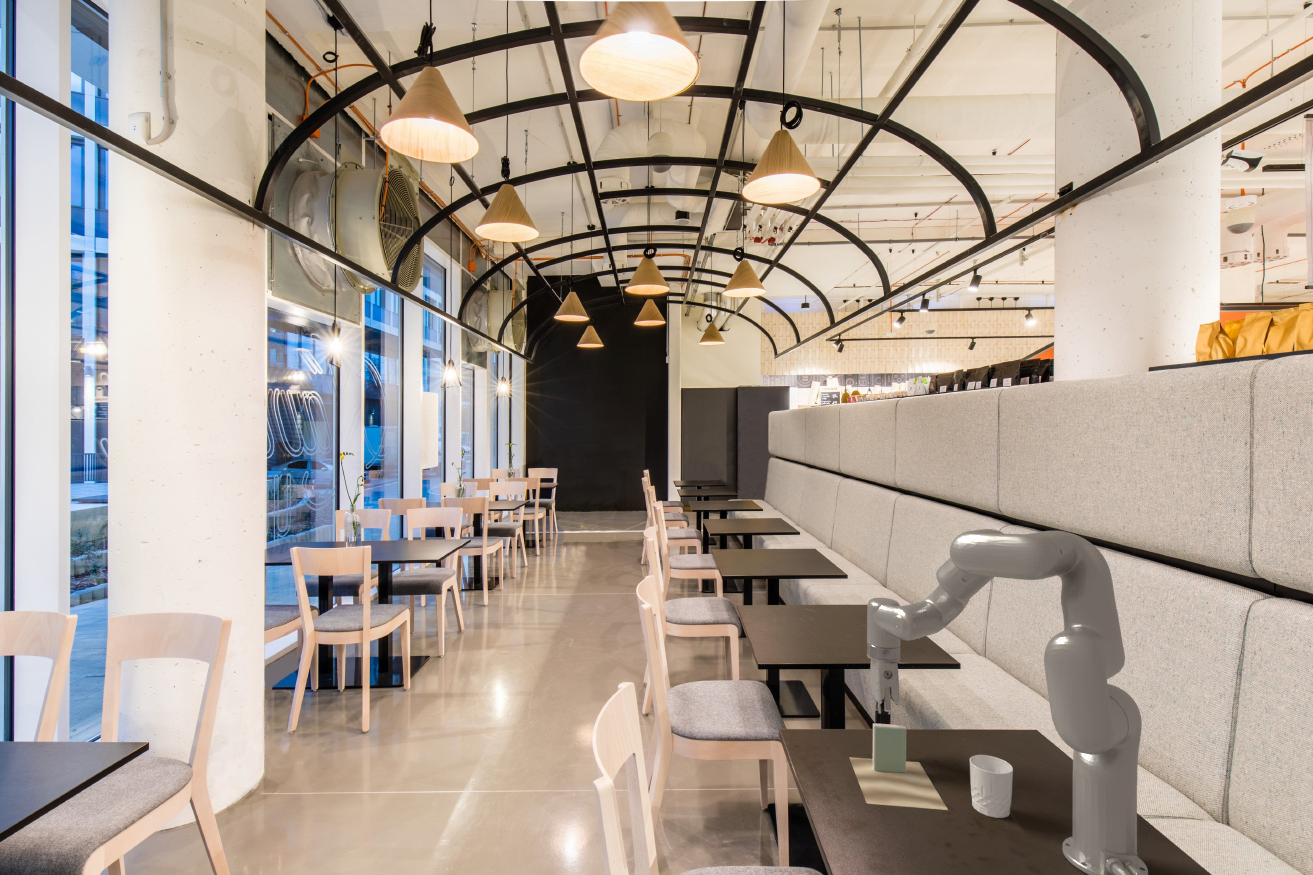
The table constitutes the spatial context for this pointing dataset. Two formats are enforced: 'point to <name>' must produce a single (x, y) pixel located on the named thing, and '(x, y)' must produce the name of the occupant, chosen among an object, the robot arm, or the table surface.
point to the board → (897, 786)
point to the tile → (889, 748)
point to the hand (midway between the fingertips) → (882, 728)
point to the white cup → (991, 785)
